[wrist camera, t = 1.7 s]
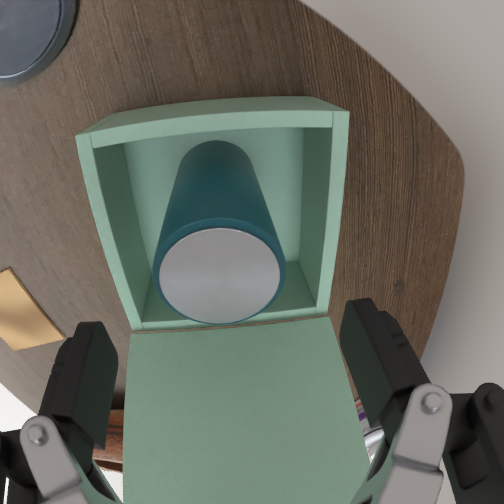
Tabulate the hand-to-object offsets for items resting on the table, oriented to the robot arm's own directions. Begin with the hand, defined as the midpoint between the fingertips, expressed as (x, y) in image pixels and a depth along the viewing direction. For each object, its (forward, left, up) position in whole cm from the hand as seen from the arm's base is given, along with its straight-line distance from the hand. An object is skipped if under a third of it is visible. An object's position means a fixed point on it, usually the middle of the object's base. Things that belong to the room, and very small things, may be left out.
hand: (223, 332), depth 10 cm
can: (0, 0, -14) cm, 14 cm away
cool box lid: (+9, -2, -1) cm, 9 cm away
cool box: (+1, 0, -15) cm, 15 cm away
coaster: (+5, -27, -15) cm, 31 cm away
